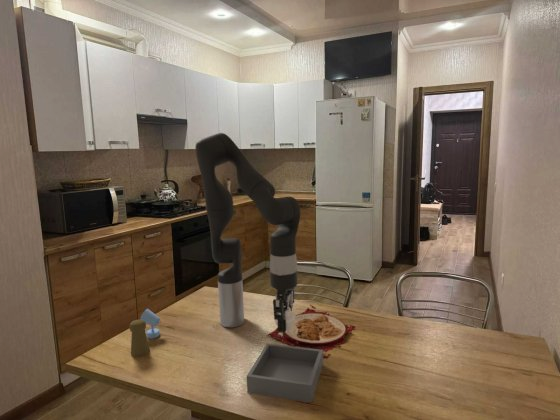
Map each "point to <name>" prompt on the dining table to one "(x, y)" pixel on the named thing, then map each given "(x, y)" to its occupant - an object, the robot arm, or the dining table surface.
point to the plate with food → (315, 331)
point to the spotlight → (153, 320)
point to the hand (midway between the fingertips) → (285, 325)
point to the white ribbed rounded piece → (288, 319)
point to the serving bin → (286, 372)
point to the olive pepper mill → (139, 338)
